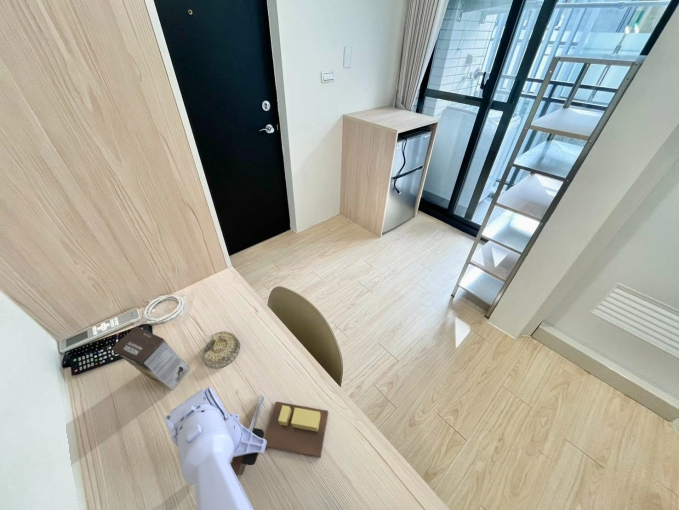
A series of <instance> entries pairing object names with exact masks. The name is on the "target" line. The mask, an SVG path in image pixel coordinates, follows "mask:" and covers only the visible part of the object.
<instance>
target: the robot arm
mask: <svg viewBox="0 0 679 510" xmlns="http://www.w3.org/2000/svg"><path fill="white" fill-rule="evenodd" d="M164 418H165V419H164V421H165V424H166V427H167V430H168V432H169V435H170V436H171V439H172V442H173V443H174V444H175V446H176V447H177V449H178V456H179V464H180V471H181V476H182V478H183V479H184V480H185V482H186V483H188V484H190V485H193V486H194V492H195V506H196V508H195V509H196V510H255V509H254V507H253V505H252V503H251V502H250V500H249V497H248V496H247V494H246V491H245V490H244V487H243V486H242V484H241V482H240V481H239V479H238V476H237V474H235V473H234V471H233V469H232V467H231V463H232V461H233V458H234V457H237V456H241V455H243V458H242V461H241V464H245V465H246V466H255V464H256V462H257V459H258V457H259V455H265V451H266V448H267V447H266V444H267V441H266V440H265V431H264V430H263V429H261V428H257V427H254V428H253V431H252V432H251V431H249V428H247V427H245V426H244V425H243V424H242V423H240V418H241V417H240V414H238V413H234V412H233V413H232V412H231V413H228V412H227V410H226V408H225V405H224V404H223V402H222V400H221V399H220V397H219V395H218V394H217V393H216V391H215V390H214V389H213V387H211V386H209V385H208V386H207V387H206V388H204V387H202V388H201V389H199V390H198V391H196V392H195V393H194V394H192V395H191V396H190V397H188V398H187V399H185V400H184V401H182V402H181V403H180V404H178V405H177V406H176V407H175V408H173V409H172V410H171V411H170V414H166V415H165V416H164Z"/></svg>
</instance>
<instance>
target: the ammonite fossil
mask: <svg viewBox="0 0 679 510" xmlns="http://www.w3.org/2000/svg"><path fill="white" fill-rule="evenodd" d="M210 338H211V339H210V340H209V341H208V342H207V344H206V345H205V346H204V348H203V351H202V360H203V362H204V364H205V365H206V366H208V367H210V368H212V369H221V368H224V367H226V366H228V365H230V364H232V363H233V362H234V361H235V359H236V358H237V357H238V355H239V353H240V350H241V344H240V341H239V338H237V337H236V335H235V334H233V333H232V332H229V331H225V330H223V331H221V330H220V331H219V332H218V331H217V332H215V333H213V334H211V335H210Z"/></svg>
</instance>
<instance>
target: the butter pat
mask: <svg viewBox="0 0 679 510" xmlns="http://www.w3.org/2000/svg"><path fill="white" fill-rule="evenodd" d="M290 415H291V409H290V407H289V406H283V405H282V408H281V412H280V415H279V419H278V422H279V423H280V425H285V426H288V422H289V419H290Z"/></svg>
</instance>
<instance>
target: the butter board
mask: <svg viewBox="0 0 679 510" xmlns="http://www.w3.org/2000/svg"><path fill="white" fill-rule="evenodd" d="M282 405H283V406H289V407H290V409H291V415H290V419H289V422H288V426H285V425H280V423H279V422H278V419H279V415H280V412H281V408H282ZM295 408H300V409H306V410H312V411H317V412H320V415H321V417H320V423H319V428H318V432H317V431H311V430H306V429H301V428H295V427H293V426H292V424H291V421H292V417H293V413H294V409H295ZM328 416H329V410H326V409H320V408H314V407H309V406H303V405H297V404H292V403H288V402H287V403H286V402H281V401H275V403H274V405H273V409H272V412H271V416H270V419H269V423H268V425H267V430H266V433H265V435H264V439H265V440H266V441H267V444H266V447H265V448H269V449H270V448H271V449H275V450H280V451H285V452H290V453H295V454H300V455H305V456H309V457H310V456H311V457H316V458H321V457H322V452H323V445H324V440H325V435H326V428H327V423H328Z"/></svg>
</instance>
